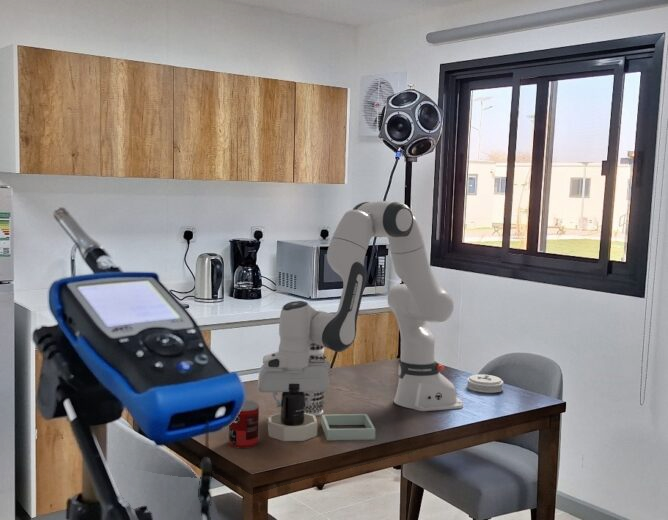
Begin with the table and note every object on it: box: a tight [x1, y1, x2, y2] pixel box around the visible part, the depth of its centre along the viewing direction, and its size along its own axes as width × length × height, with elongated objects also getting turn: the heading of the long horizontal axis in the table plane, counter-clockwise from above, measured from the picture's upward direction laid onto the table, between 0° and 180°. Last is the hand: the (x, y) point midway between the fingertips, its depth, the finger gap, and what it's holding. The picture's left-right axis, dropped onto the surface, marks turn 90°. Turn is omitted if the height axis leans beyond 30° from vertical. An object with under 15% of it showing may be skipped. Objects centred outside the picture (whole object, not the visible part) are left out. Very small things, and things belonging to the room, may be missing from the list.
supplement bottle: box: [280, 384, 305, 426], centre depth 209 cm, size 7×7×12 cm
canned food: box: [228, 400, 260, 449], centre depth 200 cm, size 8×8×11 cm
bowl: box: [267, 411, 318, 442], centre depth 210 cm, size 14×14×4 cm
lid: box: [466, 373, 504, 393], centre depth 261 cm, size 13×13×5 cm
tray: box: [320, 413, 376, 441], centre depth 212 cm, size 14×14×3 cm
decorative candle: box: [304, 343, 327, 417], centre depth 229 cm, size 9×9×25 cm
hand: (292, 406), depth 209 cm, fingers closed on supplement bottle, 7 cm apart
